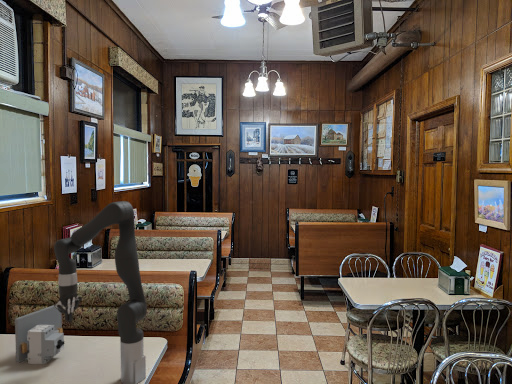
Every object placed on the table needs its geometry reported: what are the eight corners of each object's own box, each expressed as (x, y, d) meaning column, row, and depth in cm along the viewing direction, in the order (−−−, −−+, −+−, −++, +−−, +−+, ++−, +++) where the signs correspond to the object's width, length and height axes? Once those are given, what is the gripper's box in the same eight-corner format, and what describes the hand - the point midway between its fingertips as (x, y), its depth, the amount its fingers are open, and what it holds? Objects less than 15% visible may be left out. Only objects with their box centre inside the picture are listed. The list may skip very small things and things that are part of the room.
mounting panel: (62, 342, 189) (61, 304, 188) (18, 362, 169) (17, 319, 168) (59, 341, 190) (58, 303, 189) (16, 361, 170) (14, 318, 169)
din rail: (62, 335, 187) (62, 328, 187) (23, 353, 169) (23, 344, 169) (60, 335, 188) (59, 327, 188) (20, 352, 170) (20, 343, 169)
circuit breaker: (58, 364, 167) (57, 332, 166) (27, 363, 168) (26, 331, 167) (67, 356, 175) (66, 325, 174) (38, 355, 175) (37, 324, 175)
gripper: (60, 288, 157) (61, 328, 158) (86, 279, 169) (87, 317, 170) (48, 285, 160) (49, 325, 161) (74, 278, 172) (75, 314, 173)
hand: (69, 320), depth 165 cm, fingers closed
